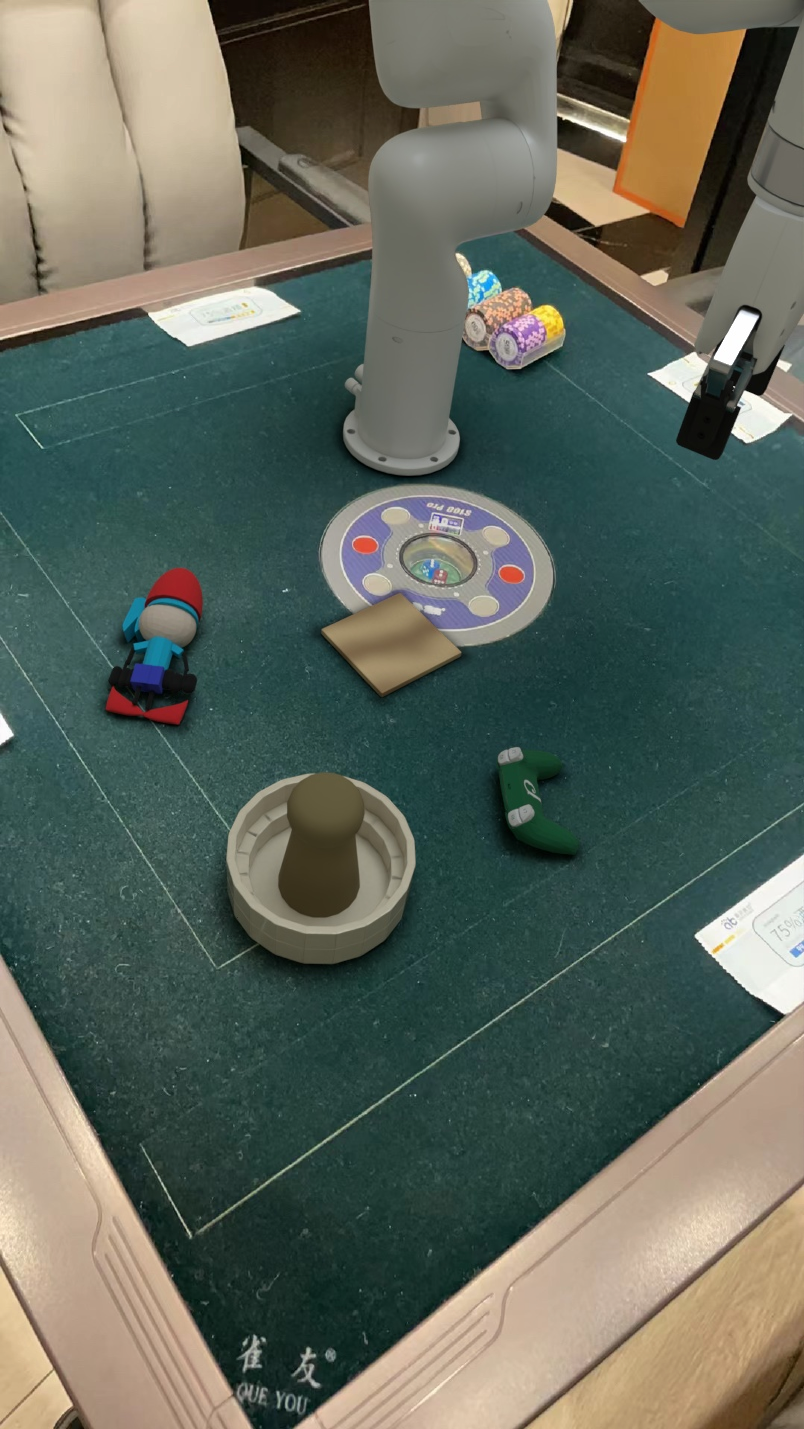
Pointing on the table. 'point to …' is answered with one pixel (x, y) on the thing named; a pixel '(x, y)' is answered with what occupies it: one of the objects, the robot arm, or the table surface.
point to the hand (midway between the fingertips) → (721, 418)
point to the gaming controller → (531, 799)
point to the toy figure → (159, 645)
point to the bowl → (312, 939)
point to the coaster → (390, 644)
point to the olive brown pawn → (322, 846)
